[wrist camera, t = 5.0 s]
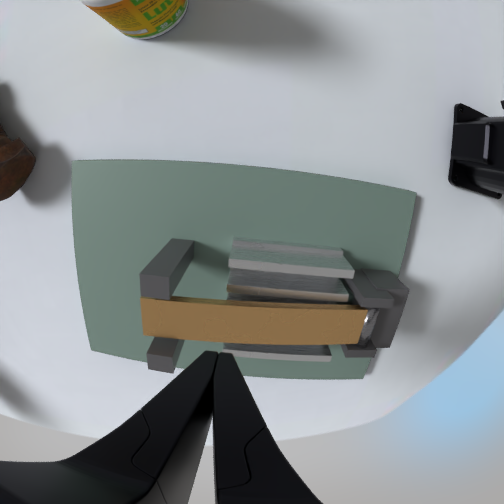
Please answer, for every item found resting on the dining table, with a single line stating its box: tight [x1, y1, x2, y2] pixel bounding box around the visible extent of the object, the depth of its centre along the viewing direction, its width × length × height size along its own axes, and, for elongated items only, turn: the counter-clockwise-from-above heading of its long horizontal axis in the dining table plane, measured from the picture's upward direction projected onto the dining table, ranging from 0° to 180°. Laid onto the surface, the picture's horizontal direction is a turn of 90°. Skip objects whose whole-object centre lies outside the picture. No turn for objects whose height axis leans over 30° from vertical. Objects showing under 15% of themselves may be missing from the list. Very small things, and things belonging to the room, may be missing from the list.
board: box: [72, 160, 416, 379], centre depth 21 cm, size 24×16×1 cm, turn 84°
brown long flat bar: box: [140, 296, 380, 348], centre depth 16 cm, size 14×3×1 cm, turn 84°
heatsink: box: [222, 237, 355, 362], centre depth 19 cm, size 7×7×3 cm
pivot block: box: [340, 268, 409, 358], centre depth 18 cm, size 4×4×4 cm
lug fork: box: [139, 238, 194, 373], centre depth 17 cm, size 2×6×6 cm, turn 175°
